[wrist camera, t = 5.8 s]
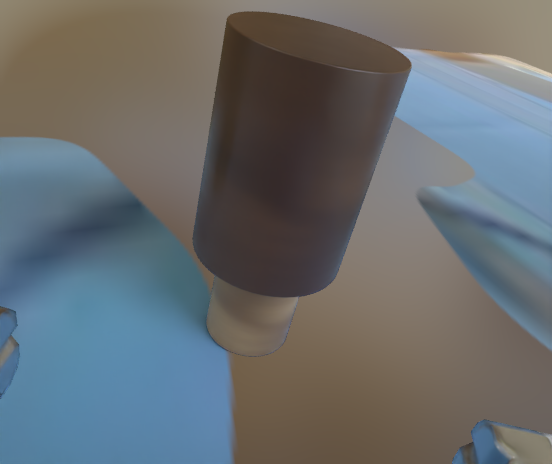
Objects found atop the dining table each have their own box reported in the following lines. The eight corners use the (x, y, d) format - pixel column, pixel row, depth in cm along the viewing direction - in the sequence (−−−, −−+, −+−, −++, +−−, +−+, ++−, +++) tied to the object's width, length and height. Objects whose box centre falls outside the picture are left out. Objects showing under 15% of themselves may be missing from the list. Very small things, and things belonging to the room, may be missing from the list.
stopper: (301, 289, 22) (382, 34, 17) (321, 384, 18) (440, 86, 12) (183, 277, 21) (225, 0, 16) (175, 374, 17) (229, 44, 11)
